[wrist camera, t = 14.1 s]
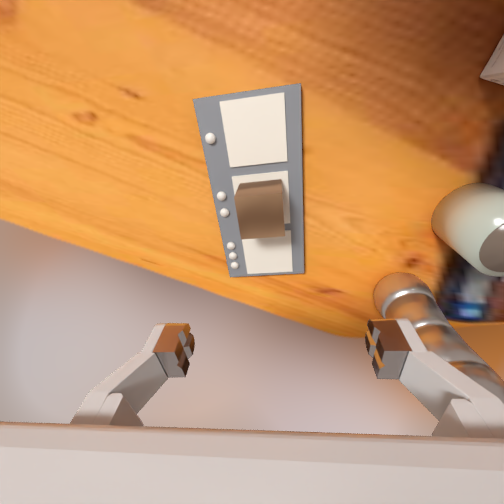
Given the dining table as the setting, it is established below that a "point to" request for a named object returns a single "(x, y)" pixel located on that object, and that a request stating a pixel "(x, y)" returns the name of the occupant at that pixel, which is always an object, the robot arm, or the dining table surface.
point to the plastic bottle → (433, 327)
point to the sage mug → (474, 225)
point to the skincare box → (495, 65)
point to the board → (255, 171)
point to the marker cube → (260, 209)
